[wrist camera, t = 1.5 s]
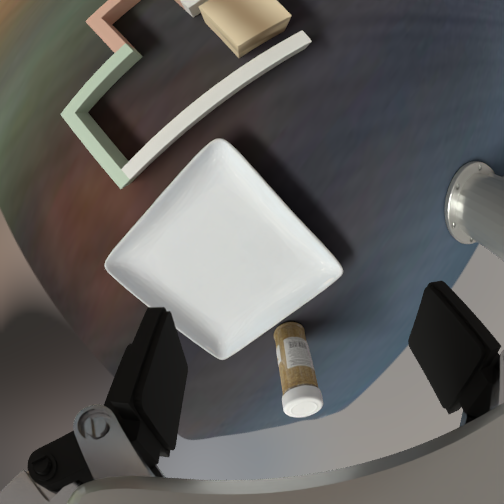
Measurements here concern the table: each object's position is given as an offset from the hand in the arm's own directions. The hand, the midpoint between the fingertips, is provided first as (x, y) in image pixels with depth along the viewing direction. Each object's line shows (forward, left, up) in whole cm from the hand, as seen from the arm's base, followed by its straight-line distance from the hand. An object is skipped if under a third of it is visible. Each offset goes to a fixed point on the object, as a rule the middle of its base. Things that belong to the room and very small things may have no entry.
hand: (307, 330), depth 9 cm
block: (-10, -16, -23) cm, 30 cm away
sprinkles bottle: (+9, +19, -23) cm, 31 cm away
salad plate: (+9, +4, -24) cm, 26 cm away
